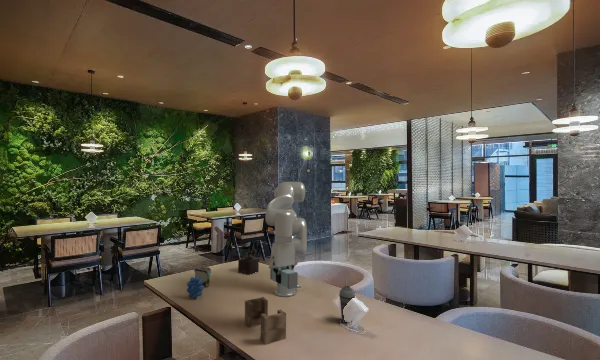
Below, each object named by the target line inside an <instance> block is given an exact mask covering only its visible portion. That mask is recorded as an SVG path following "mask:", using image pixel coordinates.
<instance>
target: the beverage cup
mask: <svg viewBox="0 0 600 360" xmlns="http://www.w3.org/2000/svg"><path fill="white" fill-rule="evenodd" d="M344 279H345V281H344V282H345V286H342V288H341V289H340V290H339V294H338V296H339V303H340V313H341V314H340V316H341V322H342V321H344V322H345V320H344V315H343V309H344V307H345V306H346V305H347V303H348V302H349V301H350V300H351V299H352V298H356V293H355V290H354V288H353V287H351V286H350V285H349V286H348V282H347V275H345V276H344ZM344 322H343V323H344Z"/></svg>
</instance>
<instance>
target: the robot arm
mask: <svg viewBox="0 0 600 360" xmlns="http://www.w3.org/2000/svg"><path fill="white" fill-rule="evenodd" d="M273 194H274V195H273V196H274V199H272V200H271V201H270V202H269V203H268V204H267V207H266V211H265V222H266V225H268V226H269V227H270V226H271V227H274V242H273V243H272V246H271V253H270V264H269V265H268V269H269V270H270V269H271V270H273V271H274V272H275V273H276V289H274V291H273V293H274V295H275V296H279V297H285V298H287V297H292V296H296V294H297V293H298V292H297V289H300V288H302V284H301V283H298V287H297V288H292V289H288V288H286V287H284V286H282V285H281V274H280V270H281V267H285V268H287V269H290V270H292V271H294V272H295V267H296V266H297V265H298V262H297V260H296V255H303V254H306V252H307V249H308V248H307V247H308V246H307V245H308V242H307V241H308V237H307V236H308V234H307V232H308V231H307V229H308V228H307V220H306V219H305V218H303V217H297V212H296V211H295V210H294V208H293V204H294V203H301V202H303V201H304V200H305V198H306V186H305V184H304V183H303V182H301V181H283V182H281V183H279V185H278V186H277V187H276V188H275V189H274V191H273ZM293 235H294V236H293ZM295 235H297V236H295ZM274 265H275V268H274V267H273V266H274Z"/></svg>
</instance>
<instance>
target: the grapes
mask: <svg viewBox="0 0 600 360" xmlns="http://www.w3.org/2000/svg"><path fill="white" fill-rule="evenodd" d="M202 283H203V281H202V280H199V277H195V276H193V277H190V279H189V281H187V283H186V286H187V288H186V292H187V293H188V296H189V297H190V298H193V299H194V300H196V299H197V298H198V297H200V296H202V294H203V290H204V289H205V287H204V286H203V285H202Z"/></svg>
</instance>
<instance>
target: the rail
mask: <svg viewBox="0 0 600 360" xmlns="http://www.w3.org/2000/svg"><path fill="white" fill-rule="evenodd" d="M273 267H274V268H275V265H274V266H273ZM269 271H270V274H269V275H270V278H269V279H270V281H274V282H276V273H275V272H274V271H273V270H271V269H270V268H269ZM280 274H281V285H282V286H284V287H286V288H288V289H292V288H297V287H298V284H299V283H298V277H299V275H298V272H297V271H295V270H294V271H292V270H290V269H287V268H285V267H281V270H280ZM276 283H277V282H276ZM297 289H298V288H297Z"/></svg>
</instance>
